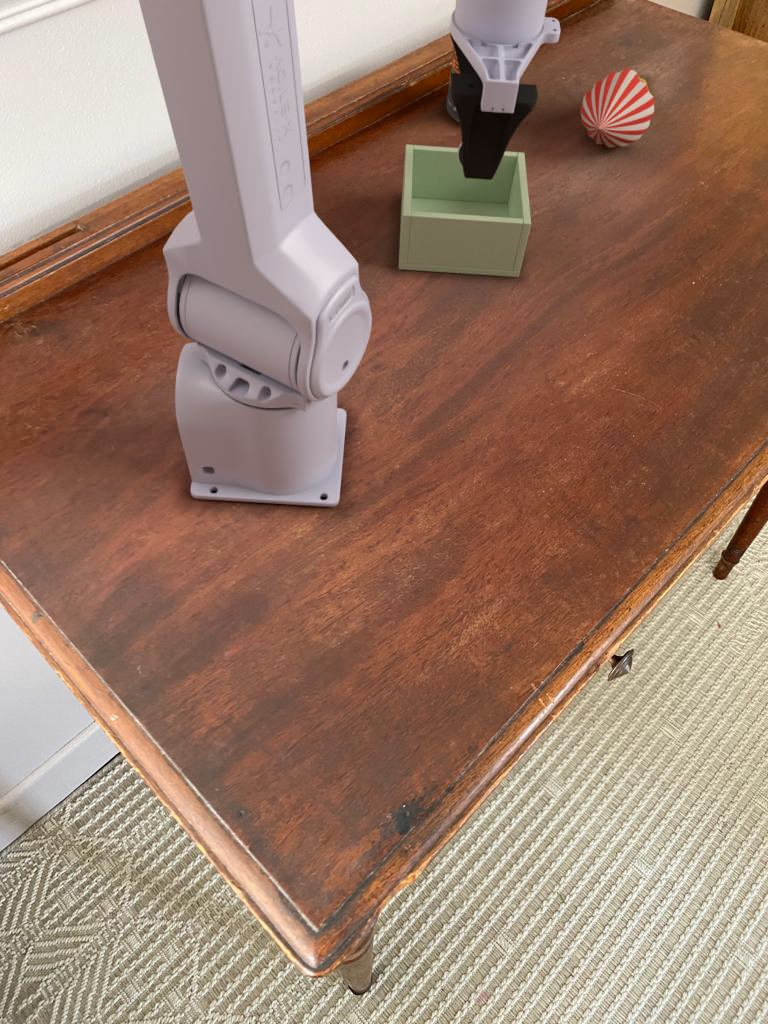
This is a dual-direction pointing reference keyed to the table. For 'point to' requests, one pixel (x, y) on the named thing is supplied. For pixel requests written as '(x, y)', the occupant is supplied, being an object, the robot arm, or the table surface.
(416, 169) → the bin
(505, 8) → the robot arm
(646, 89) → the striped christmas ornament
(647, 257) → the table surface
